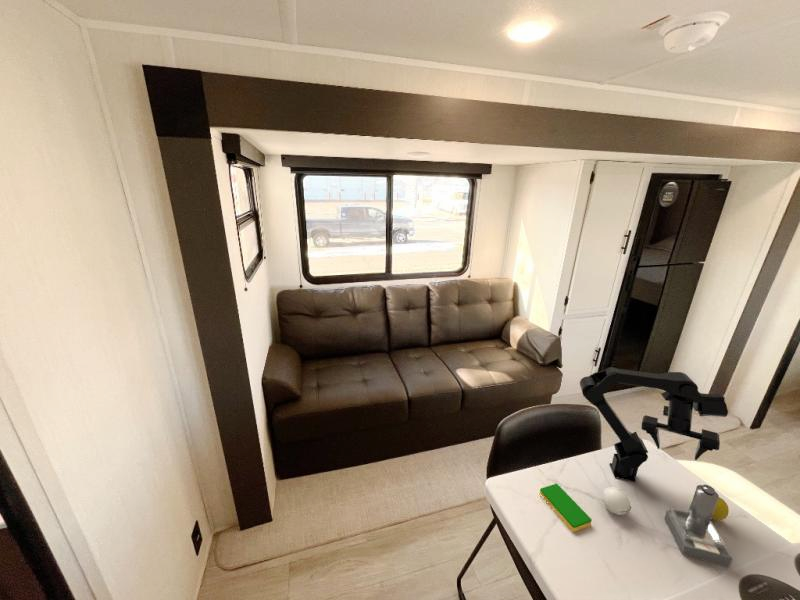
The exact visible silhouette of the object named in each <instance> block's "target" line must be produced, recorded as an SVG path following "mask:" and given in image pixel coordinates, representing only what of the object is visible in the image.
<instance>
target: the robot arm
mask: <svg viewBox="0 0 800 600" xmlns="http://www.w3.org/2000/svg"><path fill="white" fill-rule="evenodd" d="M617 384H622V385H623V384H624V385H630V386H637V387H643V388H650V389H658V390H661V391H664V392H661V394H660V395H661V396H662V398H663V399H664V401H667V402H668V405H663V411H662V412H663V413H662V415H663V416H665V417H667V424H666V423H661V422H659V418H658V417H654V416H649V415H647V414H645V415H643V417H642V421H641V430H642V431H645V433H646V434H649V435H650V437H651V438H652V440H653V441H654V444H655V446H656V448H657V450H660V446H661V441H660V430H661V431H666V432H668V433H673V434H677V435H680V436H685V437H689V438H691V439H696V440H698V444H697V446H696V449H695V453H694V460H695V461H698V459H700V457H701V456H702V455H704V454H705V453H706V452H708V451H710V452H712V451H713V450H714V451H720V446H721V443H720V442H721V441H720V440H721V439H720V434H718V433H717V432H716V431H715V432H714V431H710V430H707V429H703V428H702V429H701V432H697V431H694V430H692V419H693V410H694V411H695V412H697V413H698V414H699V415H700V416H708V417H709V416H711V417H721V418H722V417H723V418H726V417H727V416H728V415H729V410H728V407H727V402H726V401H725V397H724V395H723V394H722V393H704V392H703V393H701V392H700V391H699V387H698V385H697V383H696V382H695V381H693V379H691V377H689V376H688V375H687V374H686V373H684V372H681V371H668V372H666V371H665V372H662V373H652V372H646V371H639V370H638V371H637V370H630V369H623V368H616V367H614V366H613V367H612V366H611V367H610V366H609V367H607V368H605V369H603V370H601V371H596V372H594V373H592V374H590V375H589V376H584V377H582V378H581V379H580V381H579V386H580V389H581V393H582V395H583V398H585V399H586V400H587V401H588V402H589V403H590V404H591V405H593V406H594V407H596V408H597V409H598V411H599V412H600V414H601V416H602V417H603V418H604V420H605V421H606V422H607V423H608V426H610V428H611V429H612V431H613V432H614V434H615V435H616V437H617V438H618V439H619V440H620V441H618V442H616V443H614V444H613V446H614V449H615V451H616V453H613V457H612V461H611V463H609V466H610V470H611V472H612V475H613V477H614V478H615V479H621V480H625V481H630V482H634V483H636V481H637V479H636V478H637V474H638V471H639V468H640V467H641V466H642V465H643V463H645V462H647V461H648V459H649V455H648V453H649V451H648V449H647V447H646V445H645V443H644V441H643V439H642V438H640V437H639V435H638V433H637V431H634V432H631V431H629V430H628V428H627V427H626V425H625V424H624V422H623V421H622V419H621V418H620V417H619V415H618V414H617V413H616V411H615V410H614V409H613V407H612V406H611V404H610V403H609V401H608V400H607V399H606V397H605V394H607V393H608V392H609V391H610V390H611V389H612V388H613V387H614V386H615V385H617Z"/></svg>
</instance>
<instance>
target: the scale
mask: <svg viewBox="0 0 800 600" xmlns="http://www.w3.org/2000/svg"><path fill="white" fill-rule="evenodd" d="M688 512H689V511H688V510H682V509H678V508H674V507H671V508H670V511H668V510H666V511H665V514H664V518H663V519H664V521H665V523H666V525H667V527H668V529H669V530H670V531H669V532H670V533H671V535H672V537H673V539H674V542H675V543H676V546H677V547H678V549H679V551H680V553H681V555H684V556H686V557H691V558H694V559H698V560H701V561H705V562H709V563H713V564H716V565H720V566H722V567H723V566H724V567H727V568H728V567H730V564H731V561H732V559H733V558H732V556H731V555H730V554H729V552H728V551H727V549H726V545H727V544H726V542H724V540H723V538H722V537H721V535H720V534H719V532H718V531H717V529H716V528H715V526H714V524H713V522H712V520H711V521H710V524H709V526H708V529H707V532H706V535H705V536H699V535H696V534H694V533H693V532H691V531H690V530H689V529H688V528H687V527H686V525H685V521H686V518H687V515H688Z"/></svg>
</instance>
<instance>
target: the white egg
mask: <svg viewBox="0 0 800 600" xmlns="http://www.w3.org/2000/svg"><path fill="white" fill-rule="evenodd" d="M601 495H602V497H601V498H602V502H603V504H604V505H603V506H604V507H605V508H606V509H607V510H608V511H609V512H611V513H613V514H615V515H618V516H624V515H625V514H628V513H629V512H630V511H631V510H632V506H631V505H632V504H631V500H630V498H629V495H628V494H626V492H625V491H623V490H622V489H620V488H618V487H616V486H615V487H613V486H609V487H607V488H605V489H604V490H603V492H602V494H601Z"/></svg>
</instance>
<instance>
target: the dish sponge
mask: <svg viewBox="0 0 800 600" xmlns="http://www.w3.org/2000/svg"><path fill="white" fill-rule="evenodd" d="M540 494H541V495H542V496H543V497H544V499H545V500H546V501H547V502H548V503H549V504H548V503H547V502H546V501H545V500H544V499H543V500H544V501H545V502H546V503H547V504H548V505H549V506H551V507H552V508H553V509H554V510H553V509H552V508H551V507H550V508H551V509H552V510H553V511H554V512H555V514H556V513H557V514H558V515H557V514H556V515H557V516H558V517H559V518H560V519H561V521H562V522H563V521H564V522H565V523H564V522H563V523H564V524H565V525H566V526H567V527H568V528H570V529H571V530H570V529H569V530H570V531H571V532H573V533H574V531H575V532H577V531H579V530H583V529H585V528H588V527H590V526H591V524H592V518H591V517H590V516H589V515H588V514H587V513H586V512H585V511H584V510H583V508H581V507H580V506H579V504H578V503H576V501H574V500H573V498H572V497H571V496H570V495H569V494H568V493H567V492H566V491H565V490H564V489H563V488H562V487H561V486H560V485H559V484H558V483H554V484H549V485H547V486H544V487H542V488H540V489H539V495H540ZM541 495H540V496H541ZM542 496H541V497H542ZM543 497H542V498H543ZM587 526H588V527H587ZM582 528H583V529H582Z"/></svg>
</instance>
